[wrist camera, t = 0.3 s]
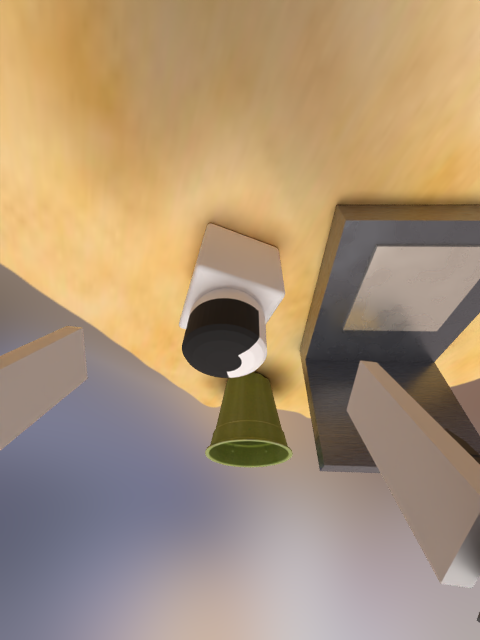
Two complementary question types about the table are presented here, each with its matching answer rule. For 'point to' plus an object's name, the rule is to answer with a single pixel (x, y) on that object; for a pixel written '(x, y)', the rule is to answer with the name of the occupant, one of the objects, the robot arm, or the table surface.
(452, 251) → the bookend
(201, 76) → the table surface
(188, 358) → the medicine bottle
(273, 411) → the plant pot
